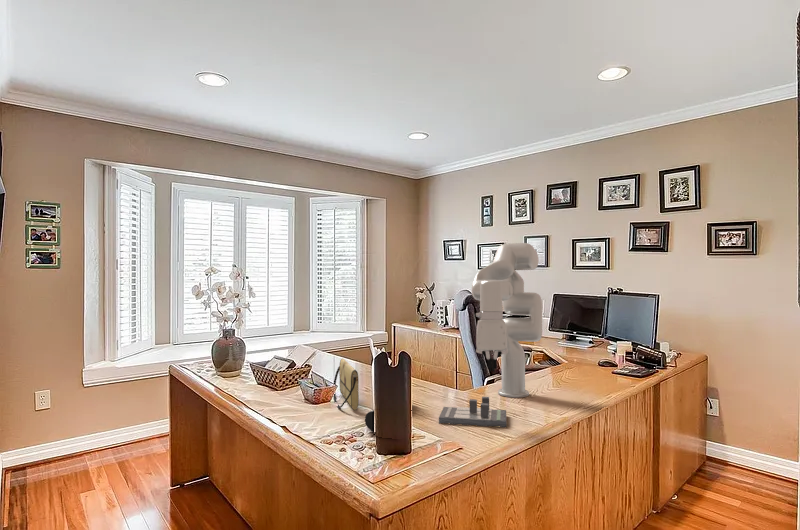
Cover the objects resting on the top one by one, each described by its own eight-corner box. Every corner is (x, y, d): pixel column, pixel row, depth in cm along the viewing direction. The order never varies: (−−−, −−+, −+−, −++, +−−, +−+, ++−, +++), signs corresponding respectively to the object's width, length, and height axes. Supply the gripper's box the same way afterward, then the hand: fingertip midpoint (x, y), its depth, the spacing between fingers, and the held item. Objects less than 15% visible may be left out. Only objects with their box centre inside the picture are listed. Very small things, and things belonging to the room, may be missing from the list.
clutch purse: (329, 394, 196) (329, 358, 197) (345, 393, 198) (345, 357, 199) (341, 413, 168) (340, 371, 168) (360, 412, 170) (359, 370, 170)
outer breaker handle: (481, 415, 155) (481, 403, 155) (488, 415, 155) (488, 403, 155) (480, 417, 153) (480, 404, 153) (488, 417, 153) (488, 405, 153)
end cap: (382, 423, 156) (382, 402, 157) (400, 426, 153) (400, 405, 153) (364, 431, 148) (364, 410, 148) (383, 435, 144) (382, 413, 144)
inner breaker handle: (482, 407, 164) (482, 396, 164) (489, 408, 164) (489, 396, 164) (482, 409, 162) (481, 398, 162) (489, 410, 161) (488, 398, 162)
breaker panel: (443, 412, 168) (443, 406, 168) (506, 415, 163) (506, 409, 163) (438, 423, 155) (438, 416, 155) (506, 427, 150) (506, 420, 151)
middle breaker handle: (470, 410, 161) (469, 399, 161) (477, 411, 160) (476, 399, 160) (469, 412, 158) (469, 400, 159) (476, 413, 158) (476, 401, 158)
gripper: (468, 317, 157) (469, 372, 156) (514, 317, 154) (514, 373, 153) (470, 315, 164) (470, 367, 163) (513, 315, 161) (514, 369, 160)
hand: (492, 370), depth 158 cm, fingers closed
